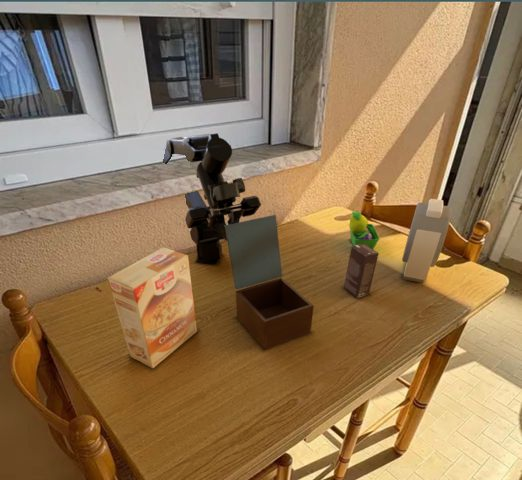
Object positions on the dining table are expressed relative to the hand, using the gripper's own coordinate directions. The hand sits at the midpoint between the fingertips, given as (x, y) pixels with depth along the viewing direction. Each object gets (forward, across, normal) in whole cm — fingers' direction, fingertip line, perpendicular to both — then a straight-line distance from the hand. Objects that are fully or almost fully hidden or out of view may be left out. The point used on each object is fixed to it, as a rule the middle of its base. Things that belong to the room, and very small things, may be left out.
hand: (235, 244), depth 94 cm
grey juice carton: (+21, +49, -3) cm, 53 cm away
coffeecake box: (+18, -24, 0) cm, 31 cm away
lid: (+6, 0, -9) cm, 11 cm away
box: (+21, +27, -3) cm, 35 cm away
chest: (+22, 0, -4) cm, 23 cm away
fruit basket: (+7, +45, +11) cm, 47 cm away
